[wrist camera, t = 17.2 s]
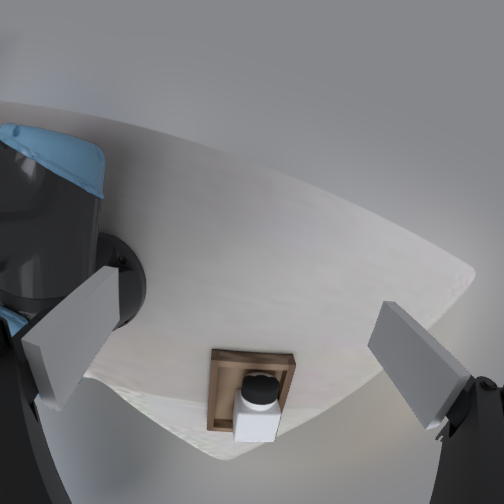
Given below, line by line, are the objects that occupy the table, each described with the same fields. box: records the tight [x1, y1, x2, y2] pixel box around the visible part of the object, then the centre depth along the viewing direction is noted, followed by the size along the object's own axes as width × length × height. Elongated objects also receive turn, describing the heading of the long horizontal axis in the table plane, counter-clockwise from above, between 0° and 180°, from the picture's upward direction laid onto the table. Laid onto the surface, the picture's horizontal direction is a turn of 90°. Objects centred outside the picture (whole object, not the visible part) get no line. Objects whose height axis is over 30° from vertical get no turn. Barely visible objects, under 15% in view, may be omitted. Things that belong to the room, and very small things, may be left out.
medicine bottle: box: [233, 372, 281, 442], centre depth 43 cm, size 7×7×12 cm
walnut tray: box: [207, 349, 296, 432], centre depth 46 cm, size 13×18×3 cm
